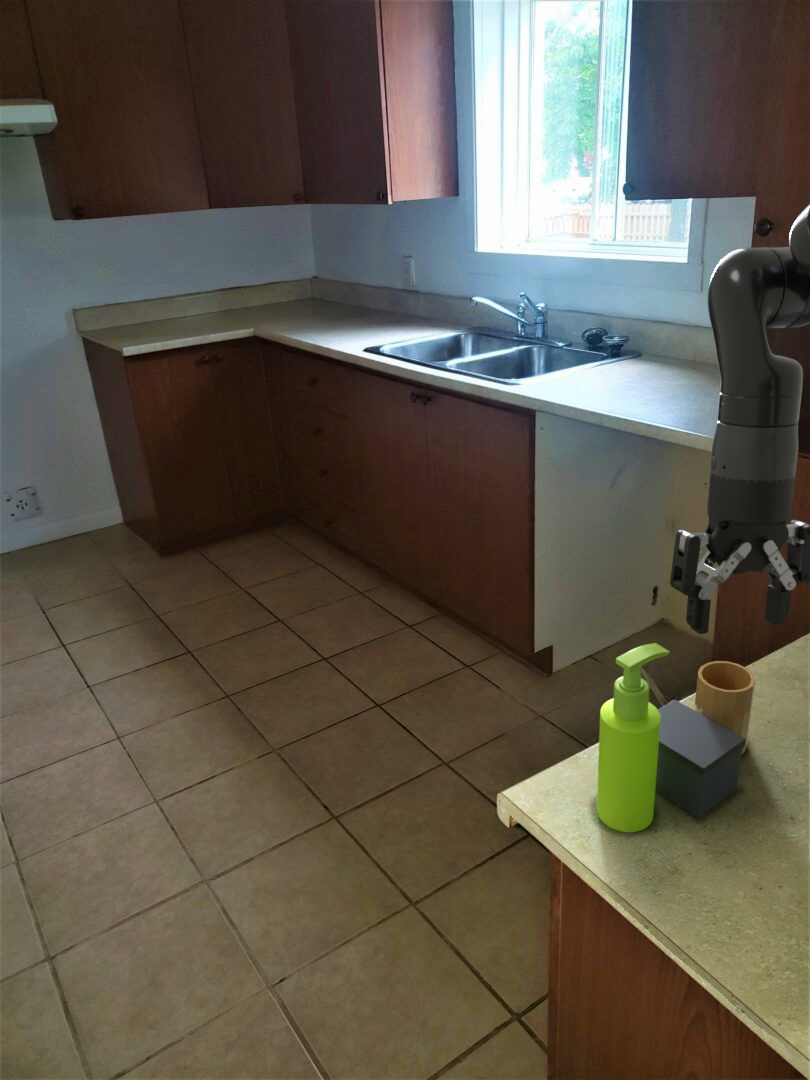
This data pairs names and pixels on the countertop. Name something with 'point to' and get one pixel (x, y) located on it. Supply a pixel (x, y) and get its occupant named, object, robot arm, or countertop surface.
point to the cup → (726, 695)
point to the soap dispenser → (629, 746)
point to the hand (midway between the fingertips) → (736, 626)
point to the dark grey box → (696, 759)
